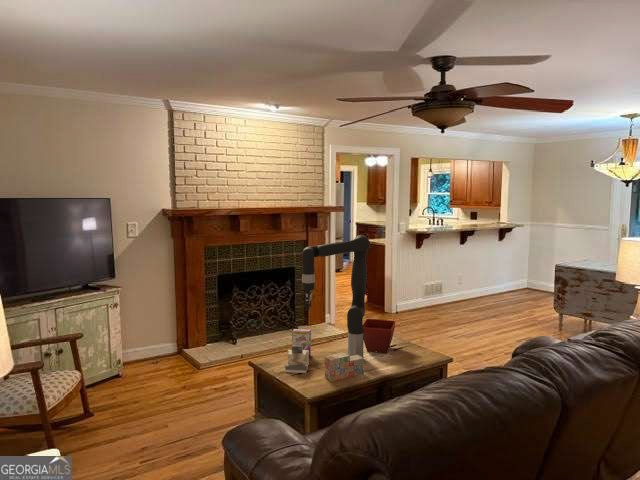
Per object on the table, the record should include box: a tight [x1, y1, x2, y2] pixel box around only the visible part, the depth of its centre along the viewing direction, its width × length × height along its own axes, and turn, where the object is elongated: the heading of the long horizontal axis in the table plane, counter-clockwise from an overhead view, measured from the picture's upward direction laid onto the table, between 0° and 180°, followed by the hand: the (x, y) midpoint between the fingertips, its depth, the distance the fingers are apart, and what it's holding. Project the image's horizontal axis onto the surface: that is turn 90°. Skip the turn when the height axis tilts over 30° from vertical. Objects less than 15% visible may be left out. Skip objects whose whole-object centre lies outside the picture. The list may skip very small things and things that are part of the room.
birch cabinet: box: [287, 345, 306, 366], centre depth 265 cm, size 10×5×12 cm, turn 85°
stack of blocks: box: [324, 352, 365, 382], centre depth 255 cm, size 21×6×12 cm, turn 118°
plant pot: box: [363, 318, 396, 354], centre depth 295 cm, size 19×19×17 cm
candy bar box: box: [291, 328, 312, 358], centre depth 283 cm, size 11×5×16 cm, turn 84°
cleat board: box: [284, 349, 310, 374], centre depth 265 cm, size 12×12×9 cm
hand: (308, 308), depth 273 cm, fingers open, 8 cm apart
